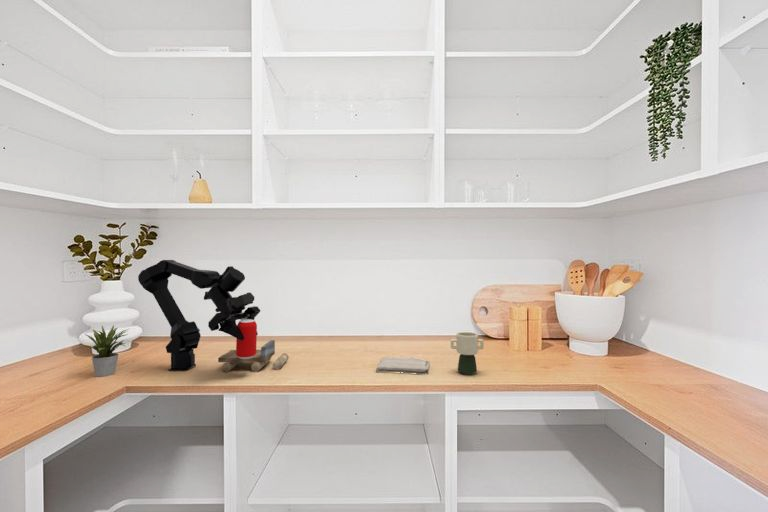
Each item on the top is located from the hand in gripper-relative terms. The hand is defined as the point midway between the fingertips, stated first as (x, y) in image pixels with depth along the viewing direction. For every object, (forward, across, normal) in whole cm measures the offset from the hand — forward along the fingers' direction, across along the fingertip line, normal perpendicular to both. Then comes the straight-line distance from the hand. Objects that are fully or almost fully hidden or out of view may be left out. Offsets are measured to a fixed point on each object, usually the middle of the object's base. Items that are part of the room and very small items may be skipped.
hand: (250, 337), depth 120 cm
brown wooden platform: (+4, +9, +15) cm, 18 cm away
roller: (+11, +14, +7) cm, 19 cm away
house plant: (-22, -14, +42) cm, 50 cm away
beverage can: (+4, 0, +6) cm, 7 cm away
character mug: (+54, +27, -40) cm, 72 cm away
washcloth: (+40, +24, -24) cm, 53 cm away
